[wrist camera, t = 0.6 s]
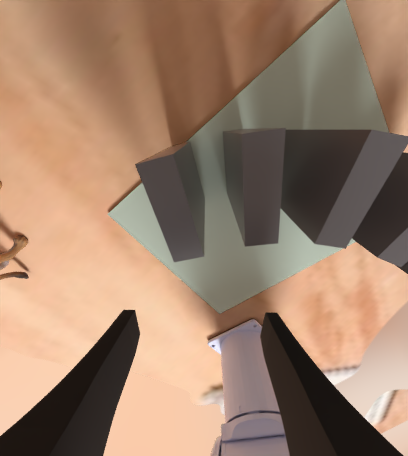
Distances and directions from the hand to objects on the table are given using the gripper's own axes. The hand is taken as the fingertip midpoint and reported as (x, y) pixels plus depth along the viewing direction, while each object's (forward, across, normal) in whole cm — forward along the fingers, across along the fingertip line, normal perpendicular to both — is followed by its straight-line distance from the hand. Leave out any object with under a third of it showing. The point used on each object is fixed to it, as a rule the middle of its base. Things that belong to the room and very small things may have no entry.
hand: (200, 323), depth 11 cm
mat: (+10, -5, -3) cm, 12 cm away
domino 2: (+10, -3, -7) cm, 12 cm away
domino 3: (+10, -7, -7) cm, 14 cm away
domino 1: (+10, +1, -6) cm, 12 cm away
